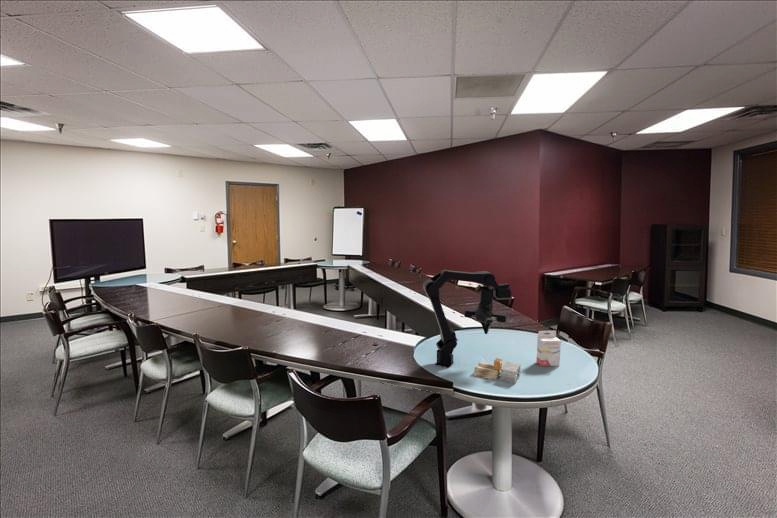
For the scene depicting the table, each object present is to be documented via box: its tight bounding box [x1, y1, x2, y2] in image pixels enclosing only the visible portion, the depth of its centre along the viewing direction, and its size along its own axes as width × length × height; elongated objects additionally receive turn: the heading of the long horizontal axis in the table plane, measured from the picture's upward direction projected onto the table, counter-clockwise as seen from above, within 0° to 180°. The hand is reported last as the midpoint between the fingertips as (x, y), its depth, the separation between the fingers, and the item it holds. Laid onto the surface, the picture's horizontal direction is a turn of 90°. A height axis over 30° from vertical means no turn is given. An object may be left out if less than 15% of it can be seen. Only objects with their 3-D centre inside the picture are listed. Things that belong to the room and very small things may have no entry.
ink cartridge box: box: [536, 330, 562, 367], centre depth 167 cm, size 9×5×15 cm, turn 92°
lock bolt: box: [493, 358, 503, 375], centre depth 156 cm, size 8×3×5 cm, turn 59°
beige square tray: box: [472, 361, 500, 381], centre depth 160 cm, size 10×10×3 cm
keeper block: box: [499, 361, 521, 385], centre depth 155 cm, size 6×8×5 cm
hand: (486, 333), depth 170 cm, fingers closed
